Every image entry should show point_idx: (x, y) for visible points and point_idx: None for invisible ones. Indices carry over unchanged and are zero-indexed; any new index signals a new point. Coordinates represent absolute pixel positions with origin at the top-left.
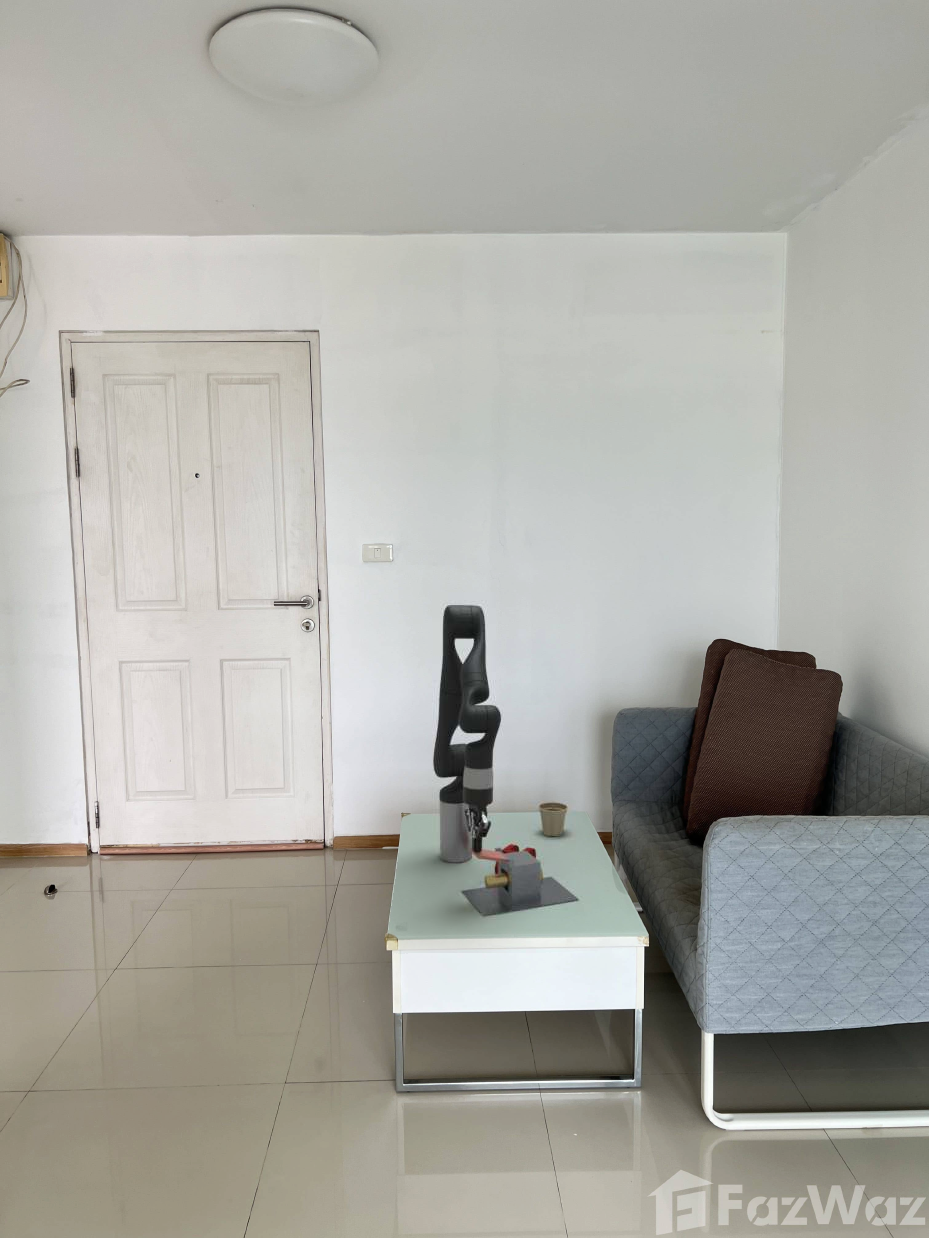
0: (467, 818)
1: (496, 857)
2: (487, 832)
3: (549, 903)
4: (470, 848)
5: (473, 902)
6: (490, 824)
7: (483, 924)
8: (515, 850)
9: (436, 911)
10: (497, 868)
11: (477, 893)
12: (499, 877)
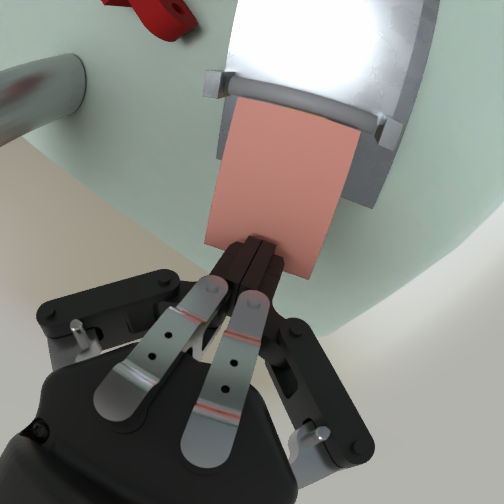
0: (112, 343)
1: (335, 186)
2: (332, 369)
3: (429, 34)
4: (208, 243)
5: None
6: (372, 447)
7: (400, 234)
8: None
9: None
10: (174, 35)
11: None
12: None
